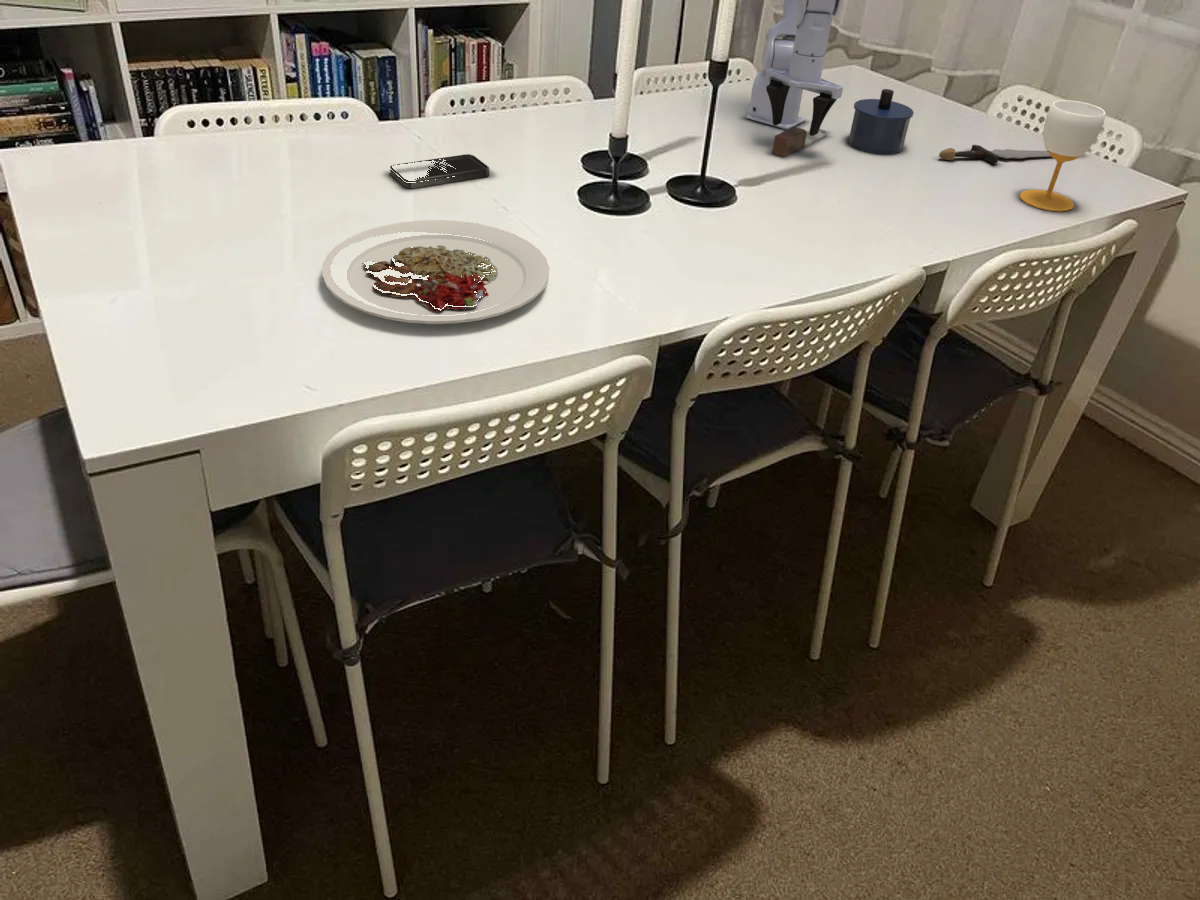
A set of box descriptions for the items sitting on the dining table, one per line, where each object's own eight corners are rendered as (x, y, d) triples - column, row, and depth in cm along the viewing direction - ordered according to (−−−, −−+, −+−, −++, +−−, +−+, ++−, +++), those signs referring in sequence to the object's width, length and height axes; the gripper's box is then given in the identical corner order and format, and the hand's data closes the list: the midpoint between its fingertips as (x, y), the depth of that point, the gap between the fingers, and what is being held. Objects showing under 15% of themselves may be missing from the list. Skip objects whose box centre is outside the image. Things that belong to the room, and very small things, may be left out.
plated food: (442, 214, 150) (441, 193, 148) (593, 281, 136) (595, 258, 134) (276, 276, 131) (272, 252, 129) (432, 361, 116) (431, 336, 114)
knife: (784, 157, 180) (787, 139, 178) (770, 153, 182) (773, 135, 180) (830, 134, 193) (834, 116, 191) (816, 130, 194) (820, 112, 192)
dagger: (927, 150, 189) (929, 139, 188) (1080, 153, 193) (1084, 142, 192) (943, 165, 183) (946, 154, 182) (1101, 167, 187) (1105, 156, 186)
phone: (491, 169, 163) (406, 182, 156) (491, 175, 164) (407, 189, 157) (470, 153, 168) (387, 165, 162) (470, 159, 169) (388, 171, 162)
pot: (839, 144, 188) (846, 110, 185) (862, 131, 195) (869, 98, 191) (889, 158, 184) (897, 123, 180) (910, 145, 191) (919, 111, 187)
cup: (1019, 187, 176) (1049, 96, 166) (1072, 197, 174) (1106, 105, 164) (1019, 205, 169) (1050, 111, 159) (1074, 215, 167) (1110, 120, 157)
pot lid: (843, 113, 185) (848, 89, 182) (867, 100, 192) (872, 78, 190) (898, 127, 180) (903, 104, 177) (921, 114, 187) (927, 91, 185)
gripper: (762, 47, 175) (750, 124, 183) (836, 65, 168) (820, 144, 176) (781, 40, 180) (768, 115, 188) (853, 58, 173) (837, 135, 181)
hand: (794, 129), depth 182 cm, fingers open, 7 cm apart
